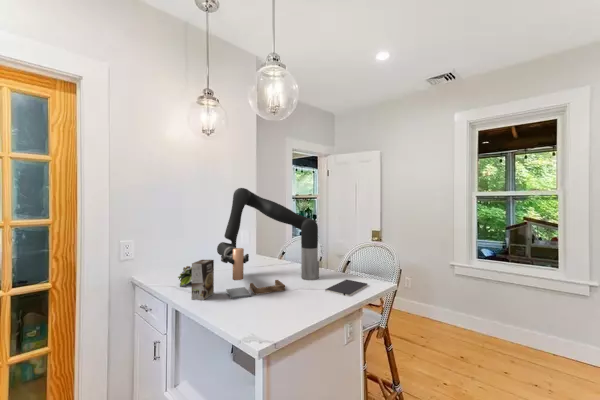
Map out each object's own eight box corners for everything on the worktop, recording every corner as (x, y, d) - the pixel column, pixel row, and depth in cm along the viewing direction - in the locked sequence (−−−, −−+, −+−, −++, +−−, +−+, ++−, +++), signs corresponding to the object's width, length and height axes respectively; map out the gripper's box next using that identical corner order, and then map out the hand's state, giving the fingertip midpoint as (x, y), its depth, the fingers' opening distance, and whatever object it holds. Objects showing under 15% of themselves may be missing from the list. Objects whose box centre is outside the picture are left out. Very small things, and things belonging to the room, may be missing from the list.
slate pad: (244, 288, 142) (244, 286, 142) (250, 296, 131) (250, 294, 131) (226, 291, 139) (226, 289, 139) (230, 299, 128) (230, 297, 128)
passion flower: (186, 292, 153) (193, 271, 160) (202, 291, 149) (208, 269, 156) (170, 285, 145) (178, 263, 152) (186, 284, 141) (194, 261, 148)
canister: (242, 276, 138) (242, 247, 138) (244, 279, 133) (244, 249, 133) (231, 277, 136) (231, 248, 136) (233, 280, 131) (233, 250, 131)
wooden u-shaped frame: (277, 284, 150) (277, 279, 150) (285, 290, 140) (285, 285, 140) (249, 288, 144) (249, 283, 144) (255, 294, 134) (255, 289, 134)
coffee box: (204, 300, 126) (204, 263, 126) (190, 299, 128) (190, 263, 127) (214, 293, 135) (214, 259, 135) (201, 292, 136) (201, 258, 136)
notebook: (346, 282, 156) (325, 292, 139) (346, 279, 156) (325, 289, 139) (368, 286, 148) (348, 297, 131) (368, 283, 148) (348, 294, 131)
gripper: (218, 248, 145) (223, 254, 129) (246, 246, 151) (254, 252, 135) (217, 263, 145) (223, 271, 129) (245, 260, 151) (254, 268, 135)
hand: (239, 261), depth 132 cm, fingers closed on canister, 5 cm apart
